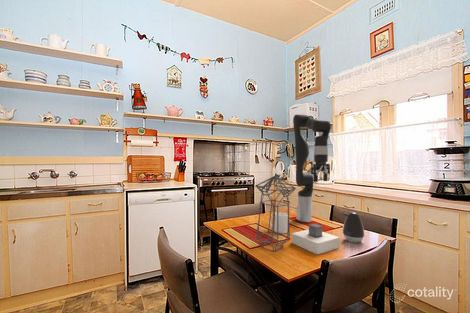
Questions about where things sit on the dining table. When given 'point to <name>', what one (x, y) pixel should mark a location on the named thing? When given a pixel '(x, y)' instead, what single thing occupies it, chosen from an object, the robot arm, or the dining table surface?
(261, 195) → the geometric lantern
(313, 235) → the plug
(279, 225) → the mug
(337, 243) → the socket block
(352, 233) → the dark grey rounded cone
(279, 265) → the dining table surface
